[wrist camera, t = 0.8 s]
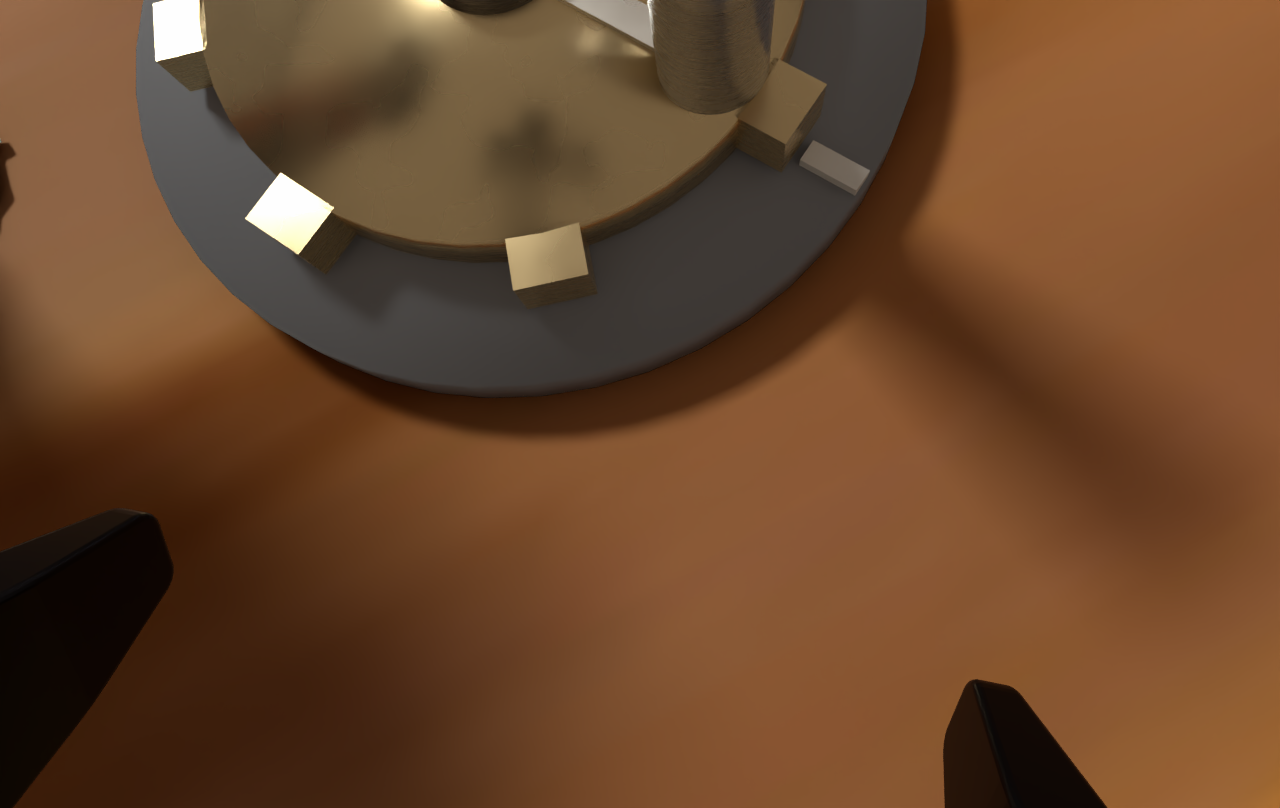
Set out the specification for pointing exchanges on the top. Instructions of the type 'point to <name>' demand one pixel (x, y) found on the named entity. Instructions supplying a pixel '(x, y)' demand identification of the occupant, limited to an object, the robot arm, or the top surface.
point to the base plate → (623, 264)
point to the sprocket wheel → (491, 117)
